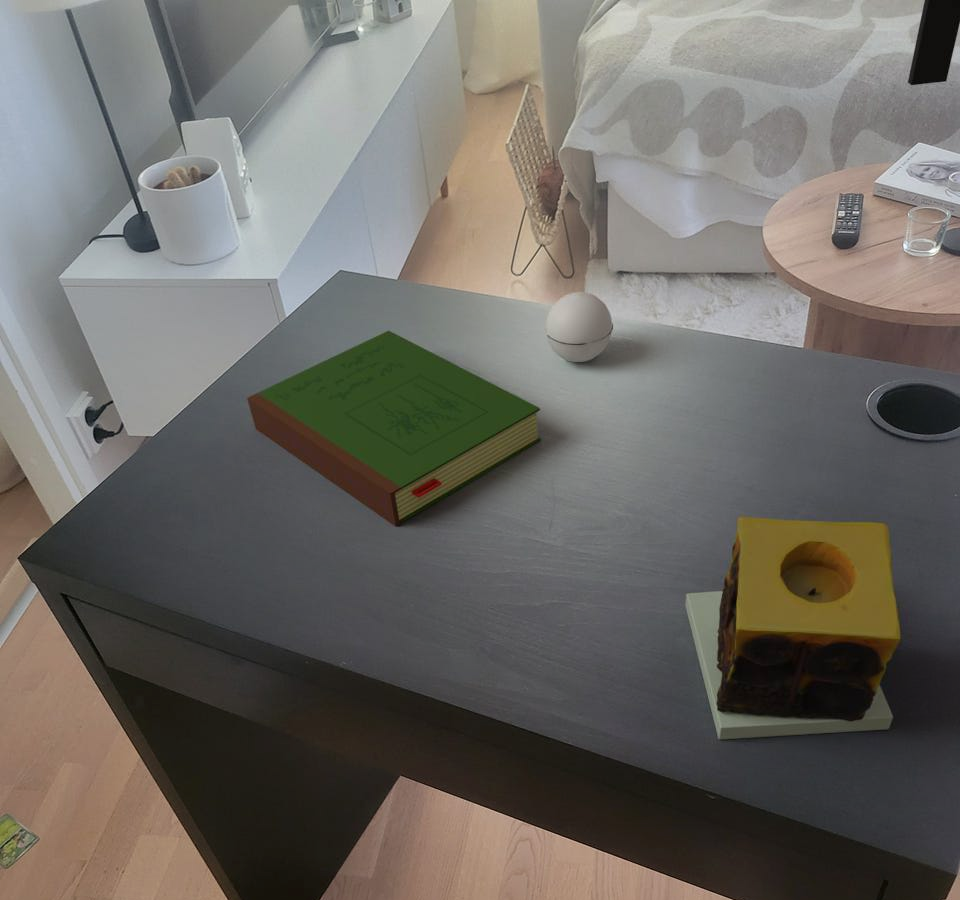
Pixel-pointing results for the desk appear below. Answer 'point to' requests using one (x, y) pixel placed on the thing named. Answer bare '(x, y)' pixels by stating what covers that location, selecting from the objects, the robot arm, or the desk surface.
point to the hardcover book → (395, 424)
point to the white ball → (579, 327)
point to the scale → (746, 725)
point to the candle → (806, 618)
